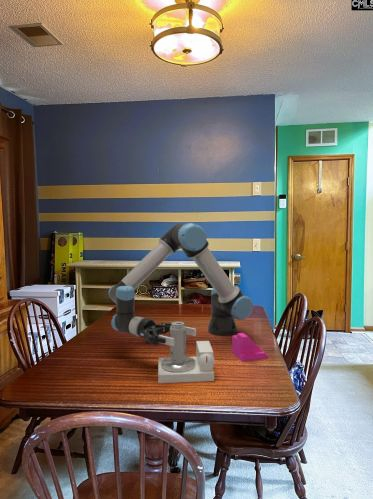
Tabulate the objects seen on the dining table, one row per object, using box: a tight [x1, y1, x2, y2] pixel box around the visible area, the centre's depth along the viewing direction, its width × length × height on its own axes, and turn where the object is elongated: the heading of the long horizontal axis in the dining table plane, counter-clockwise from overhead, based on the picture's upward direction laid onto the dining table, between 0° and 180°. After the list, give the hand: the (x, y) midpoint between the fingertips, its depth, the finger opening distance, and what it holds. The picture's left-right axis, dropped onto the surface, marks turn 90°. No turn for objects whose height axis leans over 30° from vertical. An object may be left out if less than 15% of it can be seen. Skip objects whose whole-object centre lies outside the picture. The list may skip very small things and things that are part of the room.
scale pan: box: [161, 355, 195, 373], centre depth 133 cm, size 13×13×1 cm
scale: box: [157, 340, 216, 384], centre depth 133 cm, size 20×16×10 cm
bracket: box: [231, 332, 270, 362], centre depth 150 cm, size 12×10×10 cm
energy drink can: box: [169, 321, 187, 365], centre depth 132 cm, size 6×6×15 cm
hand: (185, 337), depth 130 cm, fingers open, 13 cm apart
